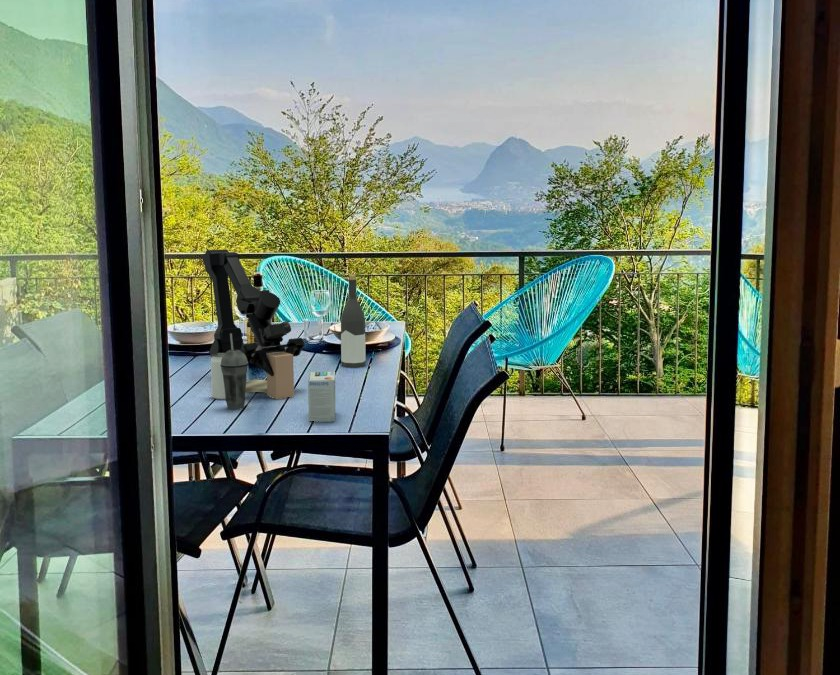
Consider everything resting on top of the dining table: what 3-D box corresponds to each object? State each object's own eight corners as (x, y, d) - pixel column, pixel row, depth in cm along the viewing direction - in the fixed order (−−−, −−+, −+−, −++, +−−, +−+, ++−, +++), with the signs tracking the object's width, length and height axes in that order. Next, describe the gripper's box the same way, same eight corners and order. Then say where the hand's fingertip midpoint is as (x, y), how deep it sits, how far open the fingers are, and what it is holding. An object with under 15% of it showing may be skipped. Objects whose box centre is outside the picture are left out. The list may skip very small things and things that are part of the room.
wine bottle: (370, 364, 291) (369, 274, 286) (356, 368, 284) (354, 276, 279) (351, 362, 295) (349, 273, 290) (336, 366, 288) (334, 275, 283)
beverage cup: (254, 405, 235) (252, 331, 231) (240, 411, 228) (238, 335, 225) (231, 403, 237) (228, 330, 234) (216, 409, 230) (213, 334, 227)
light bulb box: (310, 412, 227) (309, 371, 226) (336, 411, 228) (335, 370, 226) (308, 422, 217) (307, 380, 215) (335, 421, 217) (334, 379, 216)
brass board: (234, 391, 252) (234, 387, 251) (252, 383, 262) (252, 379, 262) (269, 393, 249) (269, 389, 248) (286, 385, 259) (286, 381, 259)
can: (229, 400, 241) (228, 357, 239) (208, 399, 242) (206, 356, 240) (239, 395, 247) (237, 353, 245) (217, 394, 248) (216, 352, 246)
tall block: (267, 396, 245) (266, 354, 244) (284, 393, 249) (283, 351, 247) (276, 399, 241) (275, 356, 239) (294, 396, 244) (293, 354, 242)
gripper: (241, 315, 239) (260, 360, 232) (301, 309, 250) (321, 353, 243) (229, 339, 246) (248, 384, 239) (288, 333, 257) (308, 376, 250)
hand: (282, 374), depth 243 cm, fingers closed on tall block, 5 cm apart
